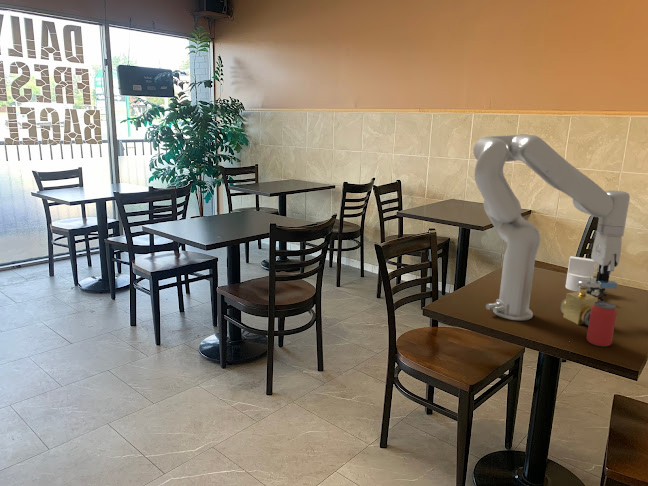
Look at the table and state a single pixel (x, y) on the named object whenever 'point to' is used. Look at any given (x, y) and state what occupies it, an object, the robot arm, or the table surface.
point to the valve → (596, 290)
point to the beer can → (601, 323)
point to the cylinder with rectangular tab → (579, 272)
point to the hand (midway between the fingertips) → (601, 284)
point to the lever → (596, 284)
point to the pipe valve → (578, 306)
